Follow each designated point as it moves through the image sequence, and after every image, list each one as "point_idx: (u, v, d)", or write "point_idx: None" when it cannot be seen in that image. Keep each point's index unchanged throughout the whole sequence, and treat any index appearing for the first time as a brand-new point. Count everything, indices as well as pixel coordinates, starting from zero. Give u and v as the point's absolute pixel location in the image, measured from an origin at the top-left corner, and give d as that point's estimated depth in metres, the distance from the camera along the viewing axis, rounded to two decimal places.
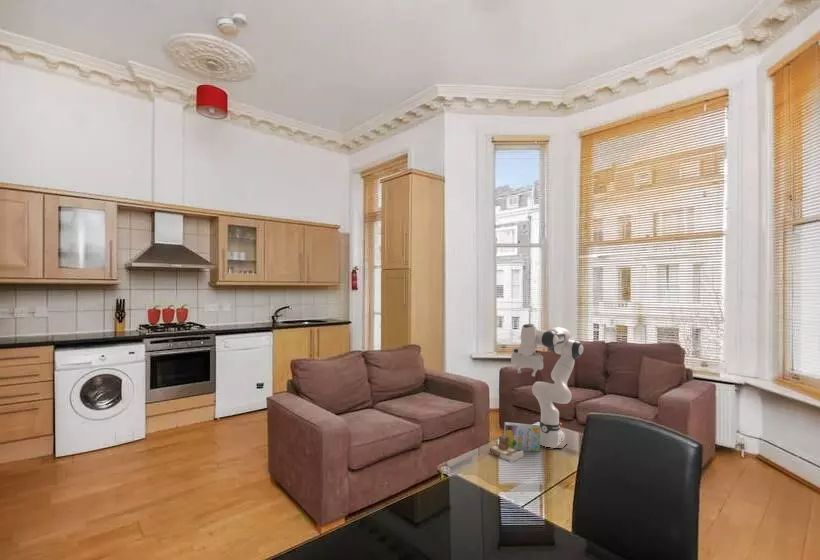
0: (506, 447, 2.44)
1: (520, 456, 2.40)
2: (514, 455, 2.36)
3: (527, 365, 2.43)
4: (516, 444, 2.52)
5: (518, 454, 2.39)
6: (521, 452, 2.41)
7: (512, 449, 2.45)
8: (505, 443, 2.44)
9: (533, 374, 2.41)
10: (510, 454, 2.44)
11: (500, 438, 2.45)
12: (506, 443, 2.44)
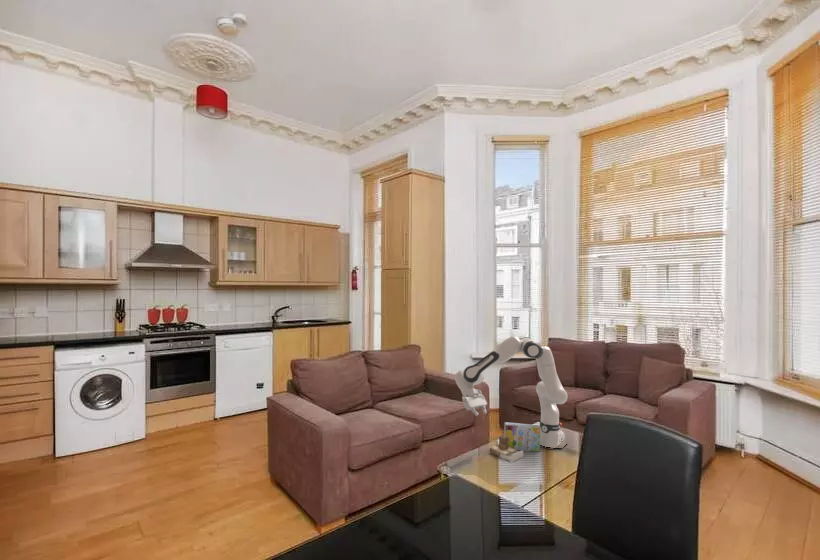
0: (506, 447, 2.44)
1: (520, 456, 2.40)
2: (514, 455, 2.36)
3: None
4: (516, 444, 2.52)
5: (518, 454, 2.39)
6: (521, 452, 2.41)
7: (512, 449, 2.45)
8: (505, 443, 2.44)
9: None
10: (510, 454, 2.44)
11: (500, 438, 2.45)
12: (506, 443, 2.44)
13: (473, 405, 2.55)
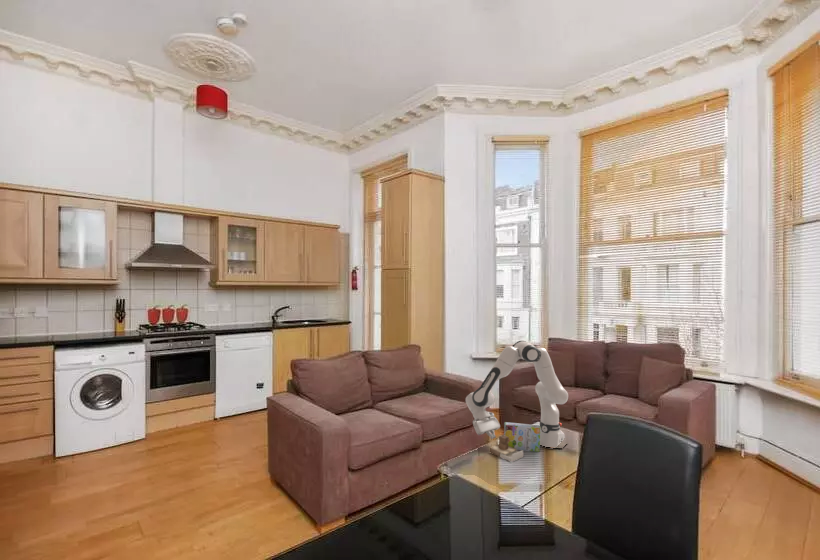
0: (506, 447, 2.44)
1: (520, 456, 2.40)
2: (514, 455, 2.36)
3: None
4: (516, 444, 2.52)
5: (518, 454, 2.39)
6: (521, 452, 2.41)
7: (512, 449, 2.45)
8: (505, 443, 2.44)
9: (490, 437, 2.51)
10: (510, 454, 2.44)
11: (500, 438, 2.45)
12: (506, 443, 2.44)
13: (484, 429, 2.49)
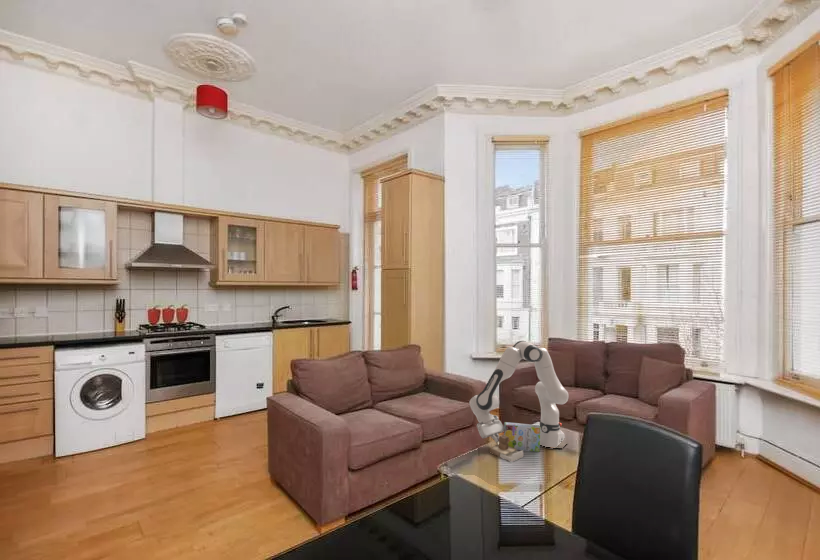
0: (506, 447, 2.44)
1: (520, 456, 2.40)
2: (514, 455, 2.36)
3: None
4: (516, 444, 2.52)
5: (518, 454, 2.39)
6: (521, 452, 2.41)
7: (512, 449, 2.45)
8: (505, 443, 2.44)
9: None
10: (510, 454, 2.44)
11: (500, 438, 2.45)
12: (506, 443, 2.44)
13: (488, 433, 2.47)
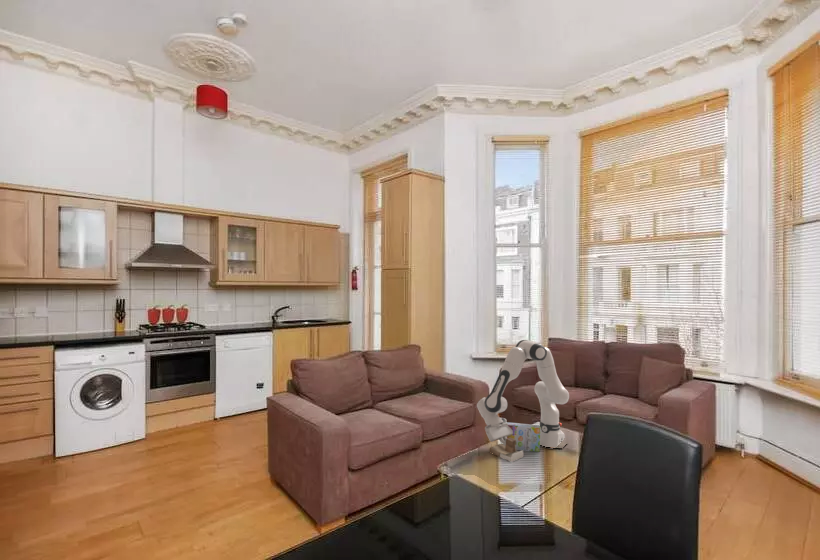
0: (513, 450, 2.41)
1: (520, 456, 2.40)
2: (514, 455, 2.36)
3: None
4: (516, 444, 2.53)
5: (518, 454, 2.39)
6: (521, 452, 2.41)
7: None
8: (512, 445, 2.40)
9: (503, 444, 2.44)
10: (510, 454, 2.44)
11: (507, 441, 2.42)
12: (513, 446, 2.41)
13: (497, 436, 2.42)
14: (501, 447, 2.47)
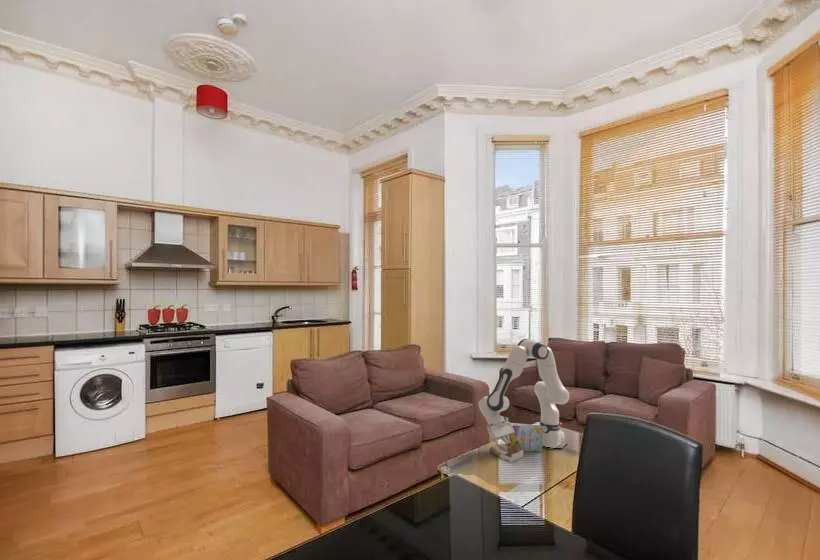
0: (513, 453, 2.40)
1: (520, 456, 2.40)
2: (514, 455, 2.36)
3: None
4: None
5: (518, 454, 2.39)
6: (521, 452, 2.41)
7: None
8: (516, 452, 2.38)
9: (505, 443, 2.43)
10: None
11: (515, 446, 2.38)
12: (516, 452, 2.39)
13: (499, 435, 2.41)
14: (501, 447, 2.47)
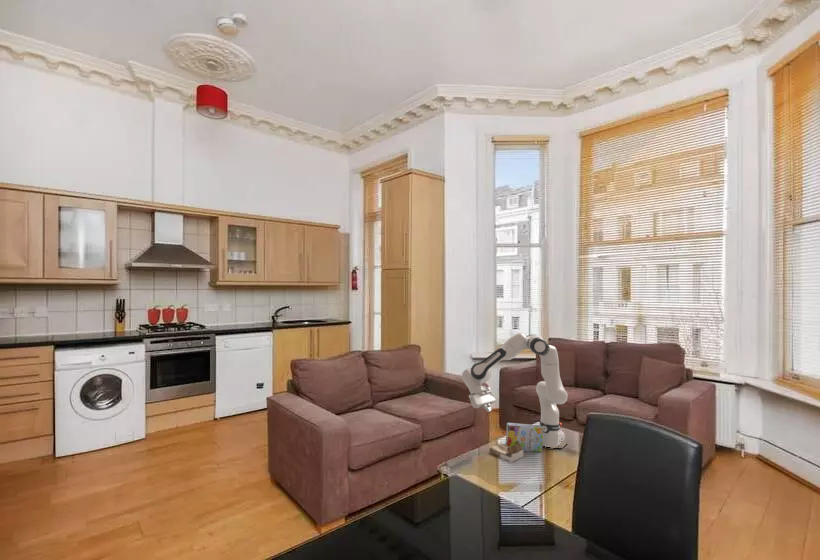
0: (513, 453, 2.40)
1: (520, 456, 2.40)
2: (514, 455, 2.36)
3: None
4: None
5: (518, 454, 2.39)
6: (521, 452, 2.41)
7: None
8: (516, 452, 2.38)
9: None
10: None
11: (515, 446, 2.38)
12: (516, 452, 2.39)
13: (480, 403, 2.55)
14: (501, 447, 2.47)
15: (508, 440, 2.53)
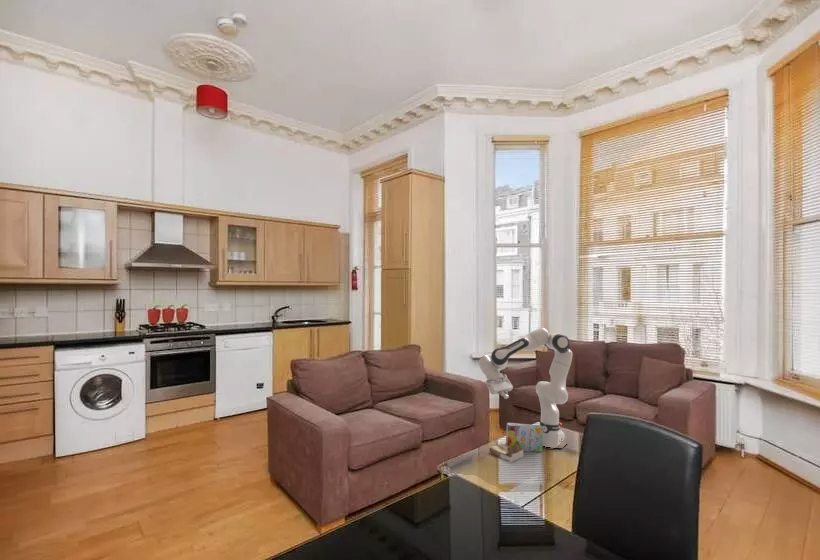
0: (513, 453, 2.40)
1: (520, 456, 2.40)
2: (514, 455, 2.36)
3: None
4: None
5: (518, 454, 2.39)
6: (521, 452, 2.41)
7: None
8: (516, 452, 2.38)
9: None
10: None
11: (515, 446, 2.38)
12: (516, 452, 2.39)
13: (498, 389, 2.51)
14: (501, 447, 2.47)
15: (508, 440, 2.53)
